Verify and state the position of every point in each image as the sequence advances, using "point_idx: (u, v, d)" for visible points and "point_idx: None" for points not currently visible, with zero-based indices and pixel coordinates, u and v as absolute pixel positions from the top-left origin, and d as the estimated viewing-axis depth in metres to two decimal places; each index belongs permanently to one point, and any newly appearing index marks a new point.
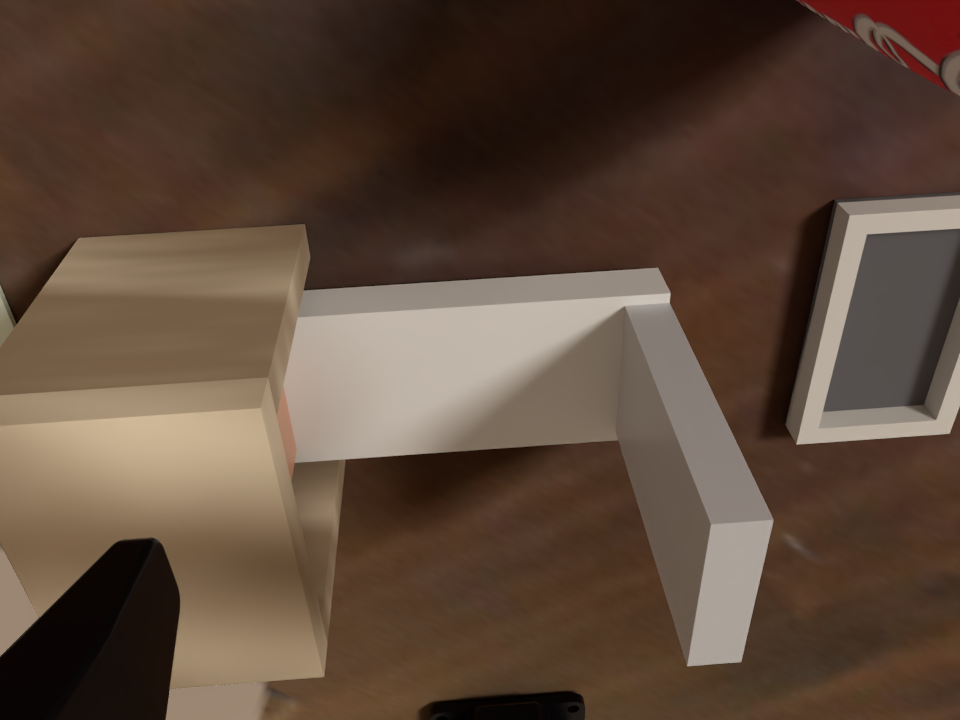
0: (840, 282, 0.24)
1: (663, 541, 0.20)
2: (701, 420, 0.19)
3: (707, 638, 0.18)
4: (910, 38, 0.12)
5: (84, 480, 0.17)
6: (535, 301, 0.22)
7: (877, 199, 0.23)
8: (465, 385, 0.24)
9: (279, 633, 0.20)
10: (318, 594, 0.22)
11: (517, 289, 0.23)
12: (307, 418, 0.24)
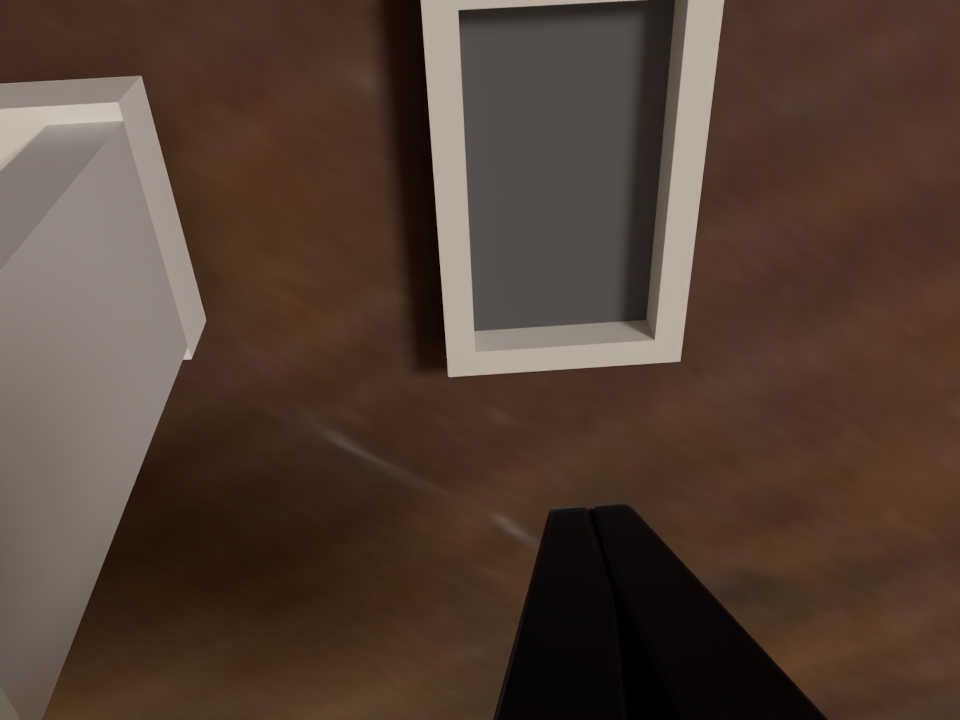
0: (438, 100, 0.15)
1: None
2: None
3: None
4: None
5: None
6: None
7: None
8: None
9: None
10: None
11: None
12: None
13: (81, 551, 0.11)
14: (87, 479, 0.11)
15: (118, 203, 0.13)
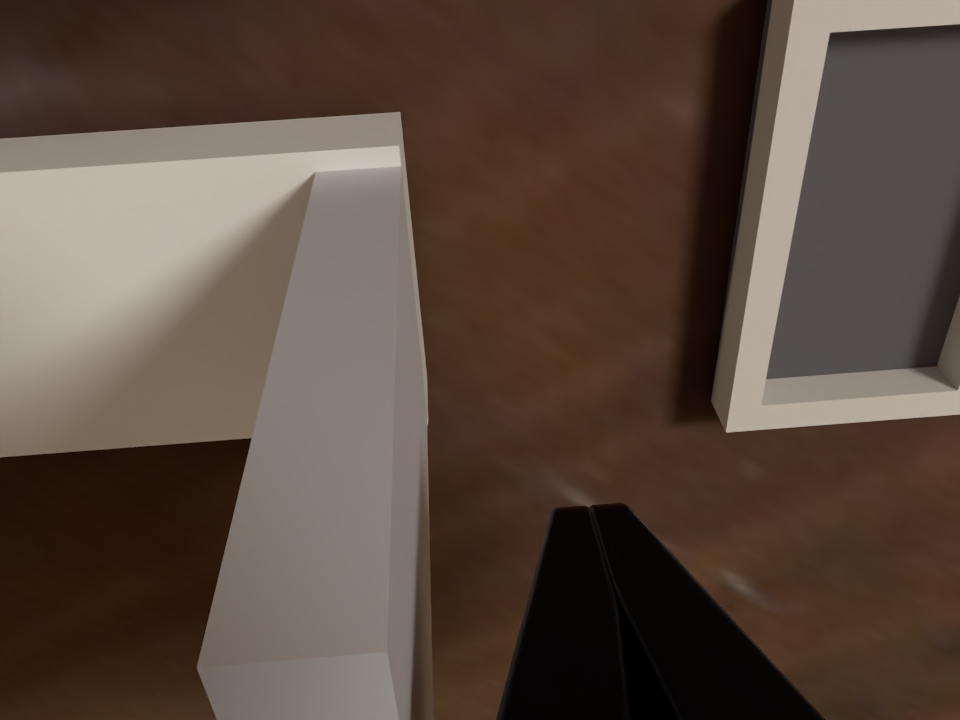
0: (784, 133, 0.13)
1: None
2: (339, 374, 0.08)
3: None
4: None
5: None
6: None
7: None
8: (54, 331, 0.13)
9: None
10: None
11: (121, 146, 0.12)
12: None
13: (428, 686, 0.09)
14: (424, 597, 0.10)
15: (407, 262, 0.11)
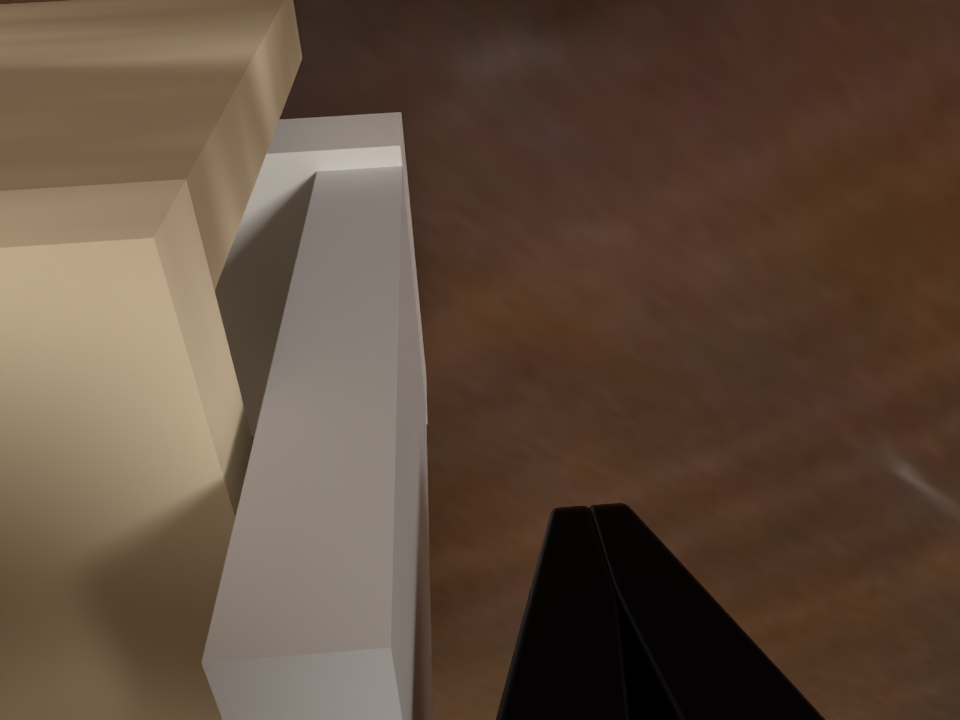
0: None
1: None
2: (342, 373, 0.08)
3: None
4: None
5: None
6: None
7: None
8: None
9: None
10: None
11: None
12: None
13: (428, 684, 0.09)
14: (424, 596, 0.10)
15: (407, 262, 0.12)
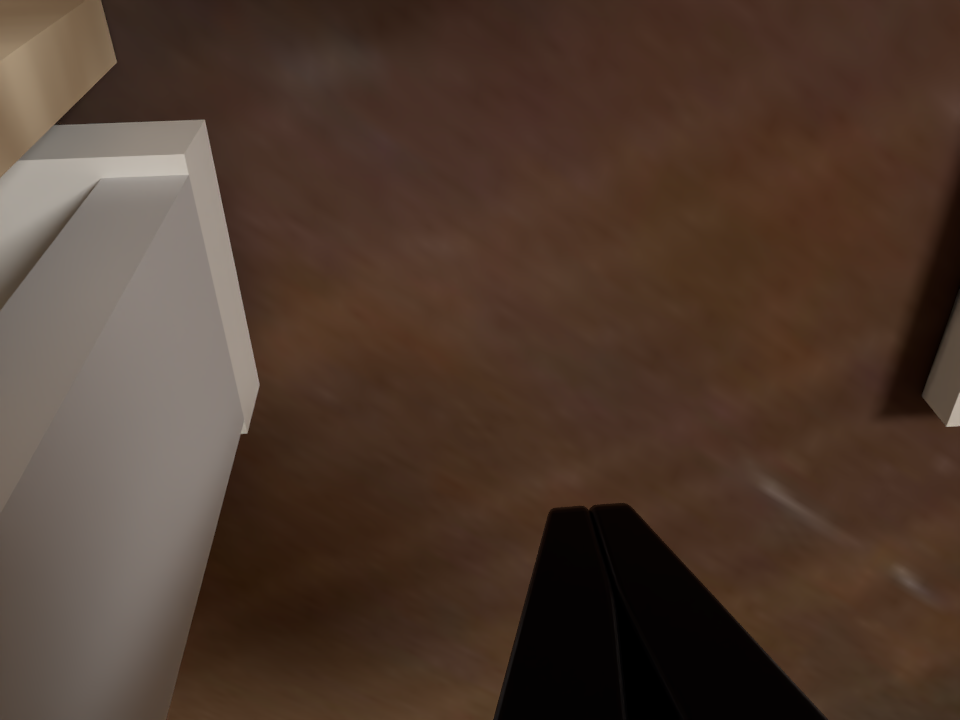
0: None
1: None
2: (15, 388, 0.08)
3: None
4: None
5: None
6: None
7: None
8: None
9: None
10: None
11: None
12: None
13: (148, 702, 0.09)
14: (155, 612, 0.10)
15: (184, 272, 0.11)
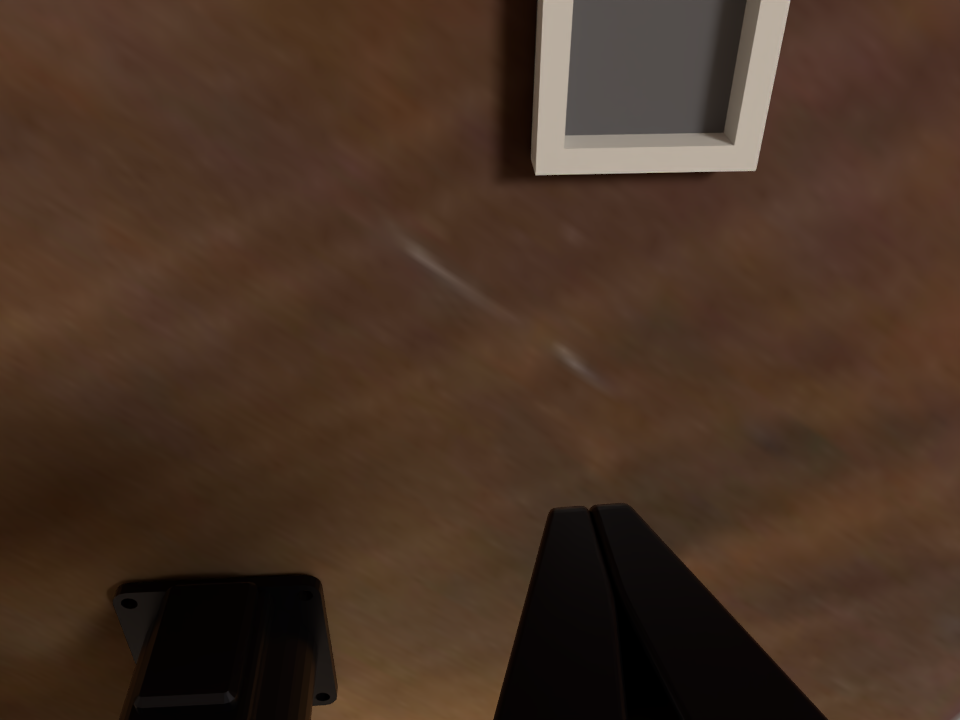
0: None
1: None
2: None
3: None
4: None
5: None
6: None
7: None
8: None
9: None
10: None
11: None
12: None
13: None
14: None
15: None
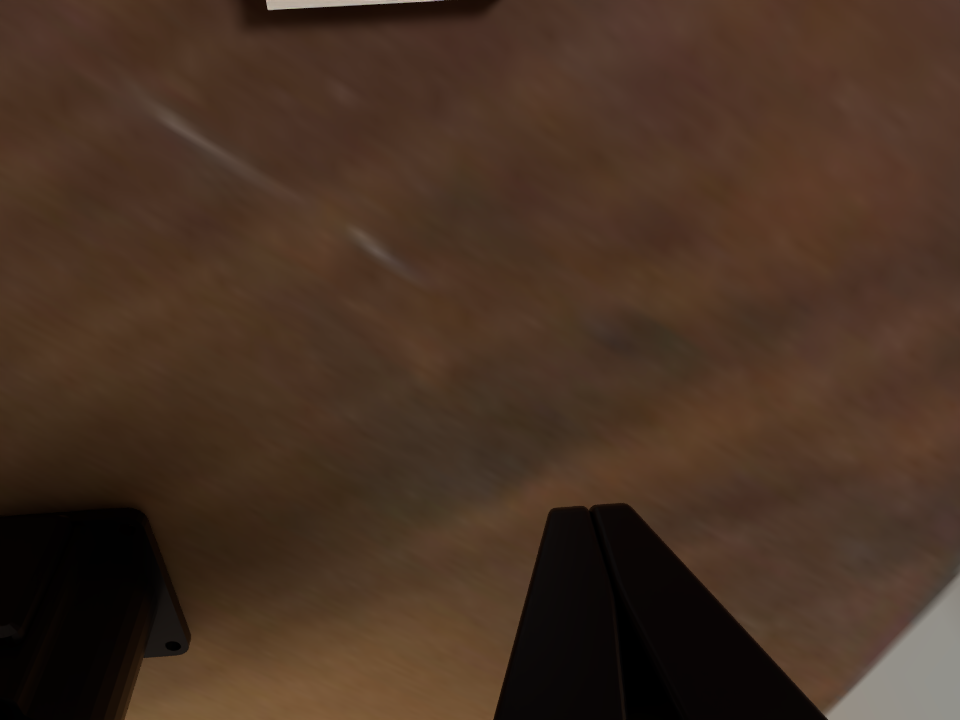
0: None
1: None
2: None
3: None
4: None
5: None
6: None
7: None
8: None
9: None
10: None
11: None
12: None
13: None
14: None
15: None
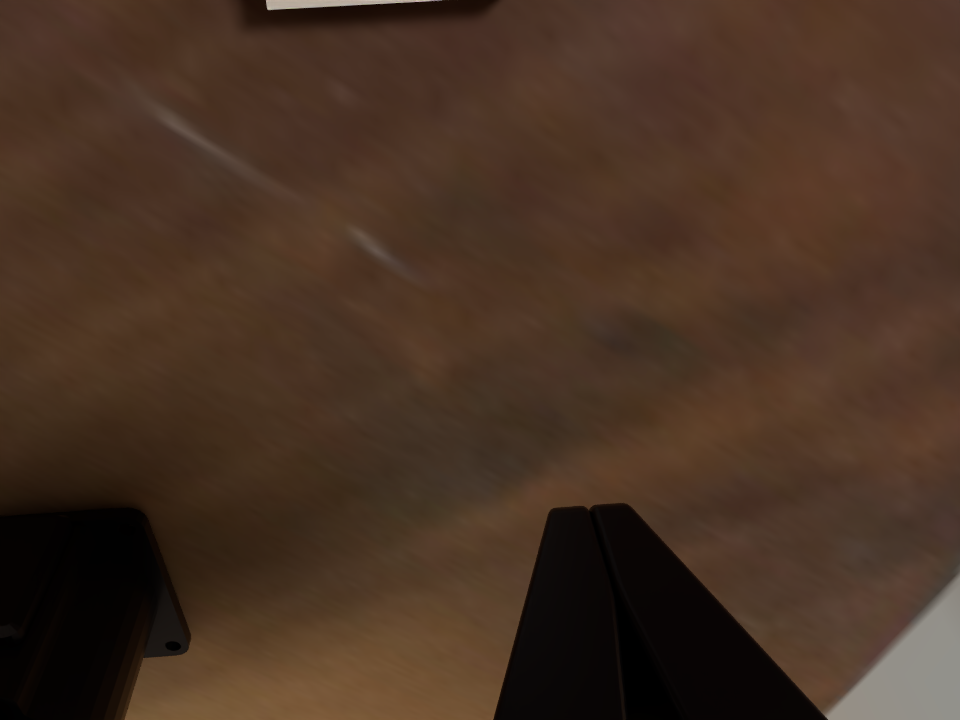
0: None
1: None
2: None
3: None
4: None
5: None
6: None
7: None
8: None
9: None
10: None
11: None
12: None
13: None
14: None
15: None
